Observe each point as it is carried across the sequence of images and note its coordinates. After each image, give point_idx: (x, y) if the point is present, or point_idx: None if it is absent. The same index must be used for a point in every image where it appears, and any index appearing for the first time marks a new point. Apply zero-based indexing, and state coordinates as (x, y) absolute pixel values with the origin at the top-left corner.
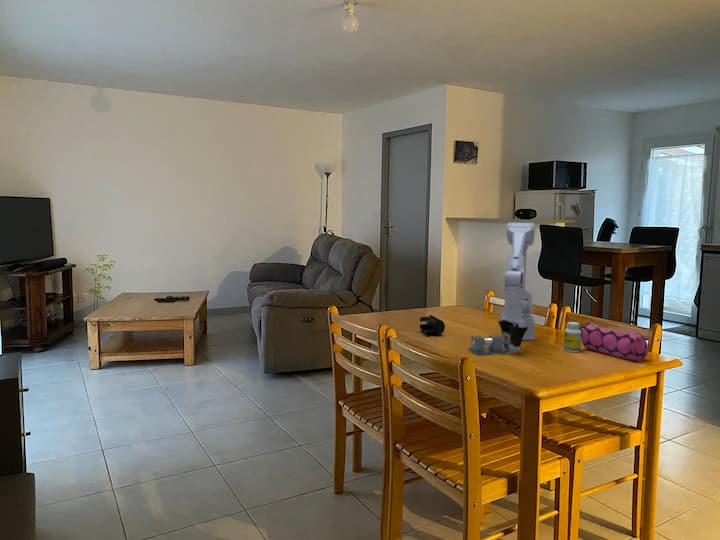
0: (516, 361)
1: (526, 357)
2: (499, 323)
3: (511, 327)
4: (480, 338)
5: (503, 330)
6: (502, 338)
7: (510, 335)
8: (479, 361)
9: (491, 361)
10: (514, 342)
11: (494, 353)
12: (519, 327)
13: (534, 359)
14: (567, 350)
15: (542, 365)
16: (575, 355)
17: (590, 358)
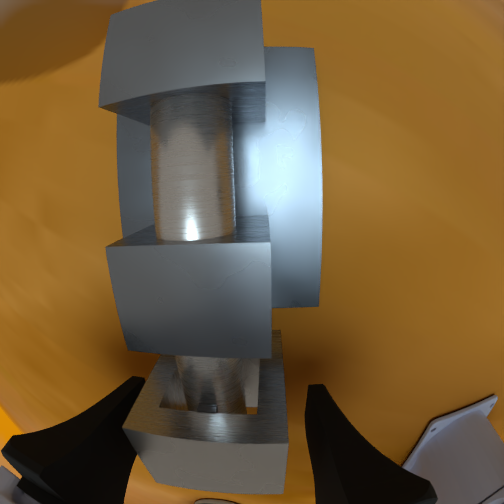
0: (25, 278)
1: (92, 364)
2: (394, 493)
3: (13, 453)
4: (111, 59)
5: (330, 454)
6: (183, 363)
7: (127, 426)
8: (34, 80)
9: (22, 143)
10: (112, 393)
11: (123, 206)
12: (28, 481)
13: (69, 373)
14: (205, 501)
15: (11, 345)
16: (158, 489)
17: (131, 489)
